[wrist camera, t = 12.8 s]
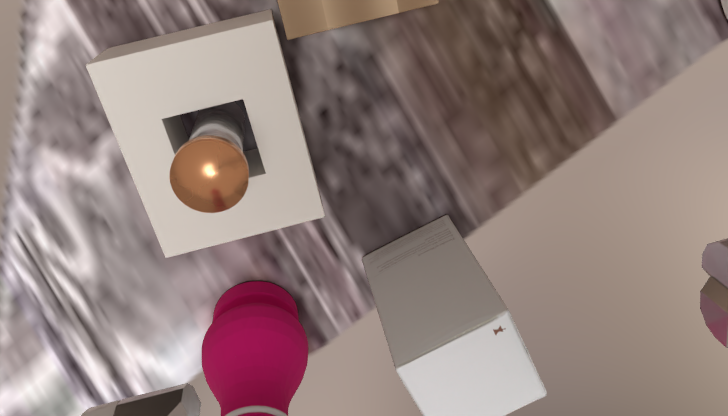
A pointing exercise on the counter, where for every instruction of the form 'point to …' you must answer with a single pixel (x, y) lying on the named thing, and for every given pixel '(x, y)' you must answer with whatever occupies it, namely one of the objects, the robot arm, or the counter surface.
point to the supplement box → (449, 326)
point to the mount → (338, 13)
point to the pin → (212, 161)
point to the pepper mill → (255, 350)
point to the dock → (198, 91)
